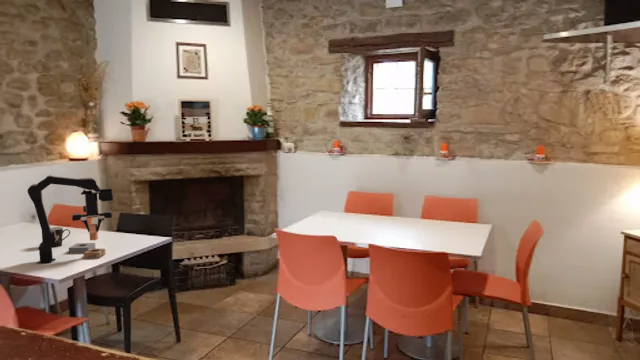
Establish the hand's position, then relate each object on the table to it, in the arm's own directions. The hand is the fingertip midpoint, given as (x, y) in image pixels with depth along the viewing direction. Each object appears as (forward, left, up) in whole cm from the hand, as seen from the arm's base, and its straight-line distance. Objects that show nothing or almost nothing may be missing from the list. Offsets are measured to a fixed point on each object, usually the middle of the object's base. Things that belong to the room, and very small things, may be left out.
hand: (93, 232), depth 265 cm
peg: (0, 0, -4) cm, 4 cm away
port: (+12, +11, -13) cm, 21 cm away
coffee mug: (+24, +29, -13) cm, 40 cm away
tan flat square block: (0, 0, -13) cm, 13 cm away
